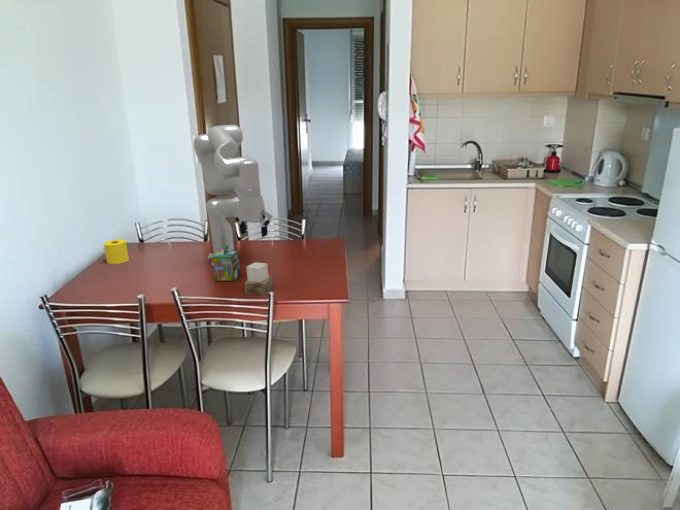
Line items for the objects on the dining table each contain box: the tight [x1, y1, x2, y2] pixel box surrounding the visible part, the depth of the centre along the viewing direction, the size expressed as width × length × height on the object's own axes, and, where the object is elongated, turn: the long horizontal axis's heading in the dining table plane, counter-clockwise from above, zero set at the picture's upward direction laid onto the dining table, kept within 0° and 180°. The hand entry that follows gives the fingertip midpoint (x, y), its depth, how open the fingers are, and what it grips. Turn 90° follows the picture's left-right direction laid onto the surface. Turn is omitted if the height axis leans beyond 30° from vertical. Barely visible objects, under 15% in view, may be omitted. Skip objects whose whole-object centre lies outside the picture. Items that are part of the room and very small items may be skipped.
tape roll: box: [103, 238, 130, 265], centre depth 257 cm, size 10×10×9 cm
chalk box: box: [211, 245, 241, 282], centre depth 229 cm, size 9×9×15 cm
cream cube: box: [246, 262, 269, 283], centre depth 214 cm, size 6×6×6 cm
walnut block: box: [244, 275, 274, 296], centre depth 215 cm, size 9×9×5 cm
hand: (254, 234), depth 209 cm, fingers open, 9 cm apart
